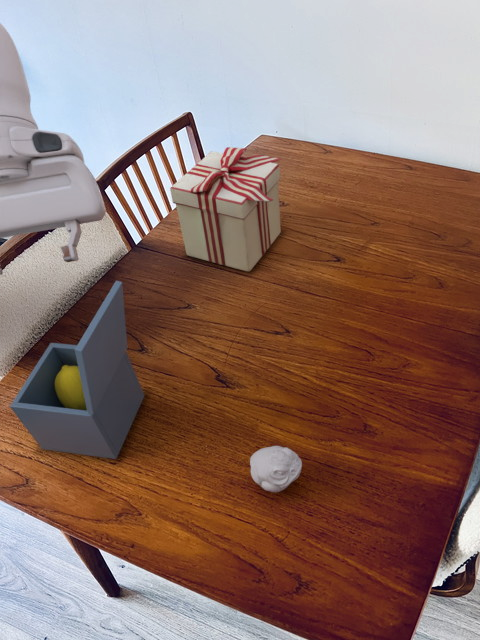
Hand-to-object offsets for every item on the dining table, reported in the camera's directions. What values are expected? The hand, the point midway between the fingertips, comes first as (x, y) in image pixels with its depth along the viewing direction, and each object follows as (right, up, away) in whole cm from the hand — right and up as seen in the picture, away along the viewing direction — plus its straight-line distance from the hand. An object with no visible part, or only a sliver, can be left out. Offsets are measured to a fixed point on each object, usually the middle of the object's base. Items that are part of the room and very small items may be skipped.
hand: (33, 267), depth 65 cm
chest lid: (+9, -10, -1) cm, 13 cm away
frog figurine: (+31, -28, +4) cm, 42 cm away
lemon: (+3, -19, +12) cm, 23 cm away
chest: (+3, -20, +13) cm, 24 cm away
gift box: (+23, +13, +40) cm, 48 cm away
